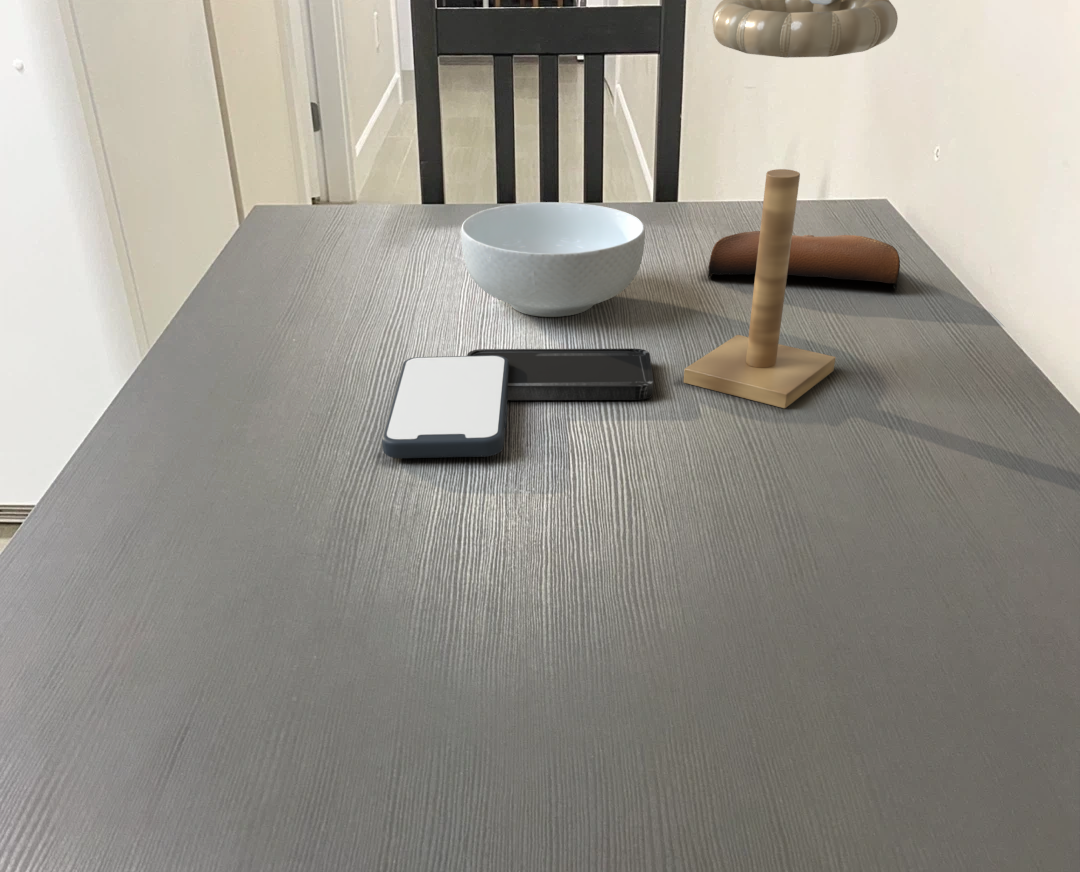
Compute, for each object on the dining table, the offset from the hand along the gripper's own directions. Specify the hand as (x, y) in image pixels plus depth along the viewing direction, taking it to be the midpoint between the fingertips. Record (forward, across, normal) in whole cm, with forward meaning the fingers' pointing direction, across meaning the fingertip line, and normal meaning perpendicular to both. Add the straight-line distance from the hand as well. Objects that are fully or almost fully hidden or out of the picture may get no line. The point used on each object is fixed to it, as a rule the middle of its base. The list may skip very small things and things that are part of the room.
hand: (835, 0), depth 74 cm
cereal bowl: (+26, +1, +24) cm, 35 cm away
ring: (+1, -5, 0) cm, 5 cm away
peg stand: (+25, -4, 0) cm, 26 cm away
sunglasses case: (+26, +21, +8) cm, 34 cm away
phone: (+25, -14, +14) cm, 32 cm away
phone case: (+25, -24, +17) cm, 39 cm away
